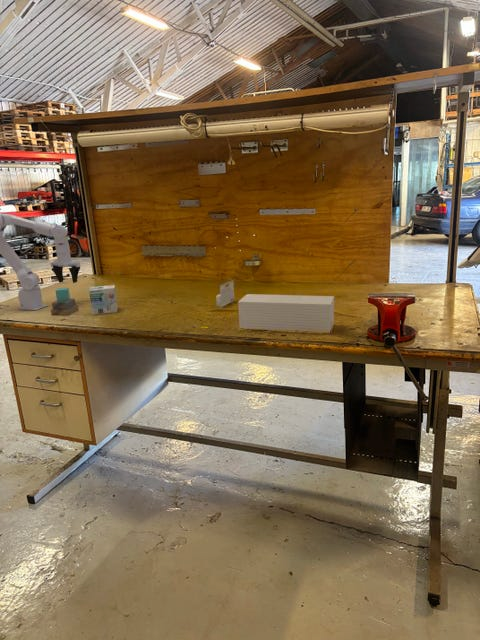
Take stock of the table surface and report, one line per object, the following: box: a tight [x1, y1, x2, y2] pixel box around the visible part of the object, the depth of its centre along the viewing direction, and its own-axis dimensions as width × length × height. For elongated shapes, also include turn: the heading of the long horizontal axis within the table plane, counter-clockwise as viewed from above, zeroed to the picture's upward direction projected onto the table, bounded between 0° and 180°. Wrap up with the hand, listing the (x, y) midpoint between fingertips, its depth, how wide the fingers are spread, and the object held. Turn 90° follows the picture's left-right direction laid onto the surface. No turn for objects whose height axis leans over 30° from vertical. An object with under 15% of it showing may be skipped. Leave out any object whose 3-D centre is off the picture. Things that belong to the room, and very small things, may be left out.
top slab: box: [51, 297, 76, 310], centre depth 195 cm, size 7×7×3 cm
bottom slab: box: [50, 304, 80, 317], centre depth 196 cm, size 8×8×3 cm
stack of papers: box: [237, 293, 335, 332], centre depth 160 cm, size 32×11×11 cm, turn 72°
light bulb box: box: [88, 284, 119, 316], centre depth 193 cm, size 11×7×11 cm, turn 105°
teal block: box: [55, 287, 71, 302], centre depth 195 cm, size 5×5×5 cm
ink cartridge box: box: [215, 279, 236, 308], centre depth 195 cm, size 2×11×10 cm, turn 149°
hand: (68, 282), depth 207 cm, fingers open, 7 cm apart
